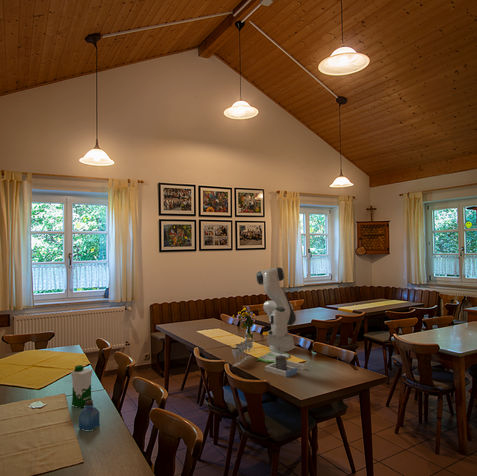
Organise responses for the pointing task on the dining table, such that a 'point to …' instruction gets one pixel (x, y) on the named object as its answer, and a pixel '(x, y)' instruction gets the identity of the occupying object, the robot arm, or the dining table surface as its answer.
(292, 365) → the white tray
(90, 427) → the perfume bottle
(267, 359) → the dish towel
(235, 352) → the goblet set
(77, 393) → the milk carton
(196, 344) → the dining table surface
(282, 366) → the cord plug
